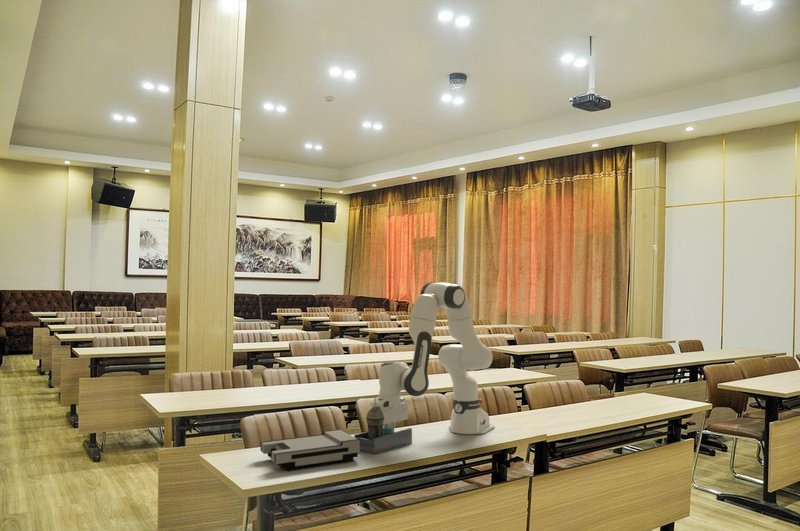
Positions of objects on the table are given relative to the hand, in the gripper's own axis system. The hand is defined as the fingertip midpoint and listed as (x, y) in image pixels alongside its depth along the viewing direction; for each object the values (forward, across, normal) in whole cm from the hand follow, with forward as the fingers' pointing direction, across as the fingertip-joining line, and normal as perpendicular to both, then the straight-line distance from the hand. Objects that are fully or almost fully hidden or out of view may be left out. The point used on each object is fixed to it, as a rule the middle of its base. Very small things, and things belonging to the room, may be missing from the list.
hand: (390, 434), depth 249 cm
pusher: (+3, +3, 0) cm, 4 cm away
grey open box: (+4, +4, 0) cm, 6 cm away
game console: (+5, +37, -8) cm, 38 cm away
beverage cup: (+4, +10, +1) cm, 11 cm away
